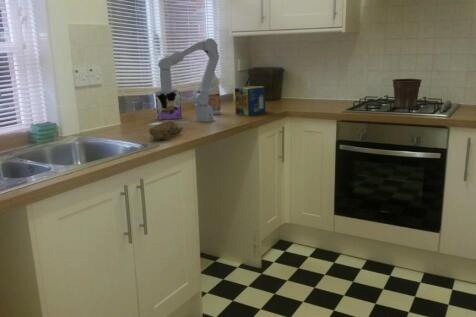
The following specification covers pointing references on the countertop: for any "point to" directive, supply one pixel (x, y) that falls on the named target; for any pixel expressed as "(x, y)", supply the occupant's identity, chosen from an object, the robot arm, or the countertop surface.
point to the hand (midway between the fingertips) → (167, 107)
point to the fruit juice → (214, 95)
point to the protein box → (250, 100)
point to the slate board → (173, 121)
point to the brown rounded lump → (165, 130)
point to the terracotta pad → (166, 121)
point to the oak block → (169, 106)
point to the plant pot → (406, 92)
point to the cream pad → (154, 123)
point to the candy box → (169, 113)
